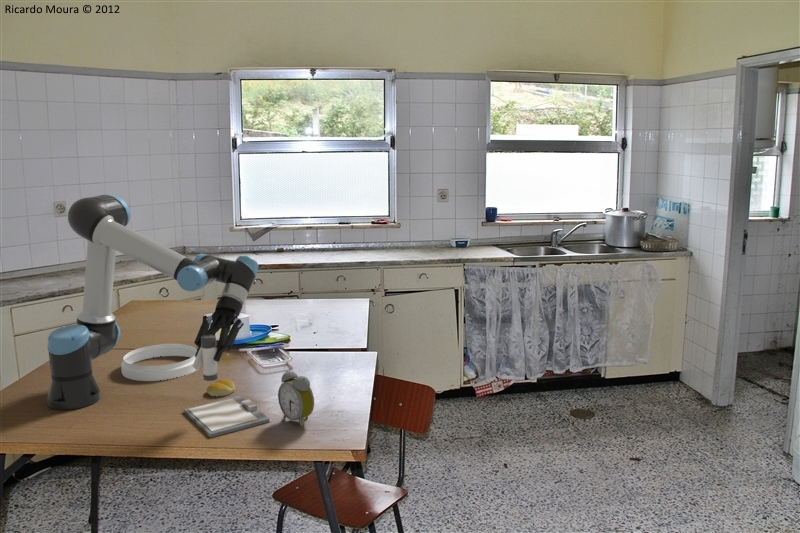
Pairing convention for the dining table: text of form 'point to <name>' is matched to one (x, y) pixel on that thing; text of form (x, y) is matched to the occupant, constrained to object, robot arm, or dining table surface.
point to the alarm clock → (295, 397)
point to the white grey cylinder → (208, 356)
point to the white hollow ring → (163, 370)
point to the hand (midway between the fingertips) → (202, 369)
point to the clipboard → (226, 416)
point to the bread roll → (221, 388)
